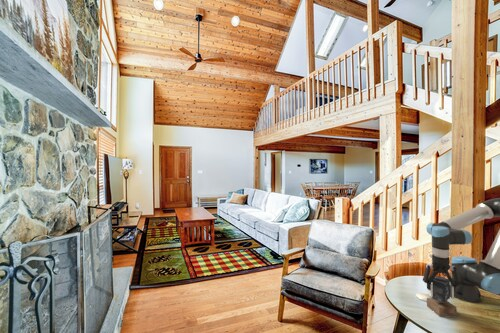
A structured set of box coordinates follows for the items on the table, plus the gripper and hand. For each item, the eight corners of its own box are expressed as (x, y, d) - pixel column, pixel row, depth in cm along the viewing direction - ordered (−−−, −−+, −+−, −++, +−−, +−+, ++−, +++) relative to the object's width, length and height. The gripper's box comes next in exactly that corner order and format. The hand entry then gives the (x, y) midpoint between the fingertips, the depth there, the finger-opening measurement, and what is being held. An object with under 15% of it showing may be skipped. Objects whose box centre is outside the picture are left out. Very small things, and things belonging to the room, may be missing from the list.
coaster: (430, 294, 147) (430, 293, 147) (438, 302, 139) (438, 301, 139) (413, 293, 149) (413, 292, 149) (420, 301, 141) (420, 300, 141)
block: (443, 306, 135) (442, 297, 135) (456, 316, 126) (456, 307, 126) (427, 306, 136) (426, 298, 135) (439, 316, 126) (439, 307, 126)
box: (444, 303, 126) (444, 283, 126) (431, 298, 131) (431, 279, 131) (450, 298, 131) (450, 279, 131) (437, 294, 135) (437, 275, 135)
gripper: (459, 254, 132) (460, 295, 132) (414, 251, 137) (415, 291, 137) (468, 259, 125) (469, 302, 125) (421, 256, 130) (421, 298, 130)
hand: (441, 296), depth 131 cm, fingers closed on box, 9 cm apart
